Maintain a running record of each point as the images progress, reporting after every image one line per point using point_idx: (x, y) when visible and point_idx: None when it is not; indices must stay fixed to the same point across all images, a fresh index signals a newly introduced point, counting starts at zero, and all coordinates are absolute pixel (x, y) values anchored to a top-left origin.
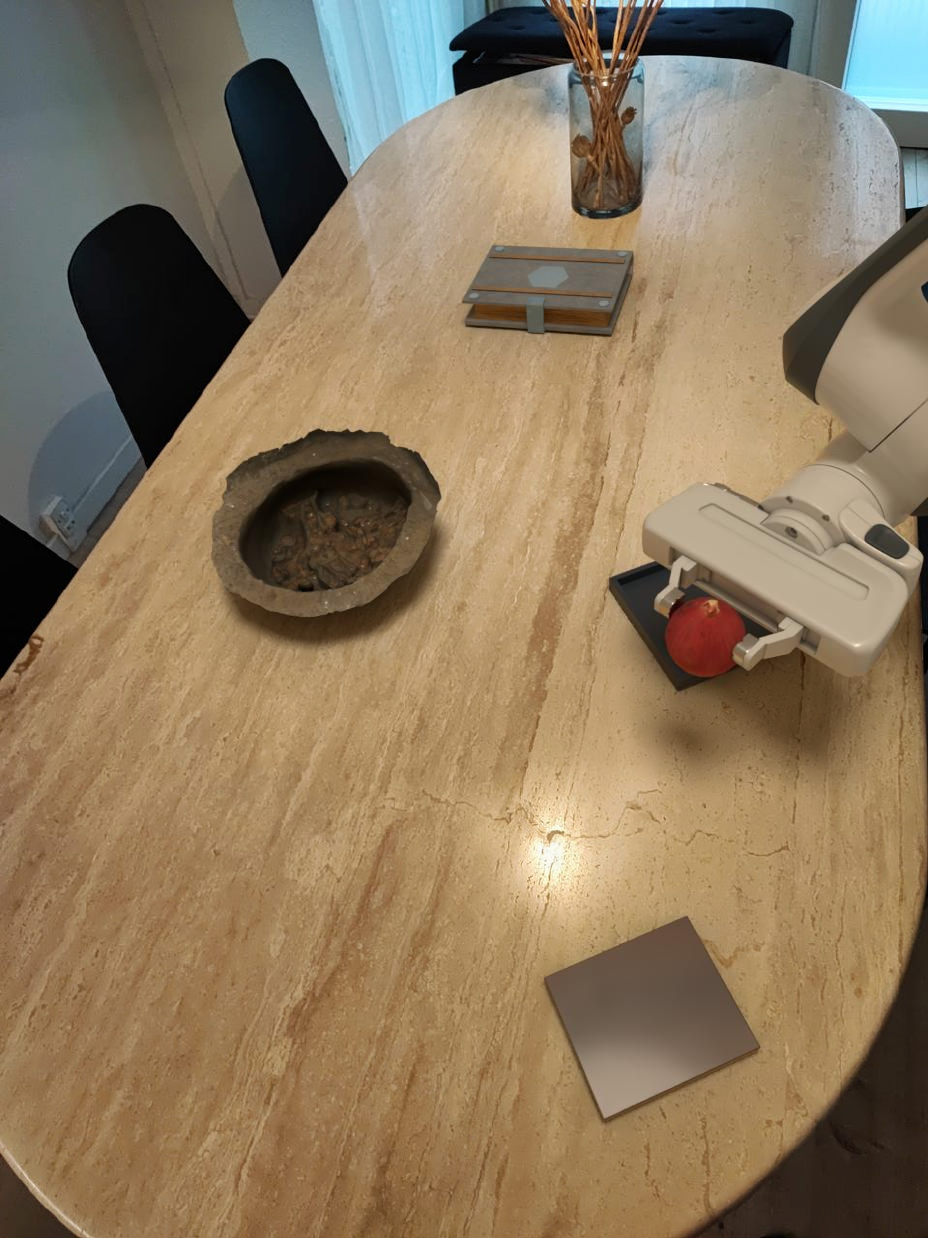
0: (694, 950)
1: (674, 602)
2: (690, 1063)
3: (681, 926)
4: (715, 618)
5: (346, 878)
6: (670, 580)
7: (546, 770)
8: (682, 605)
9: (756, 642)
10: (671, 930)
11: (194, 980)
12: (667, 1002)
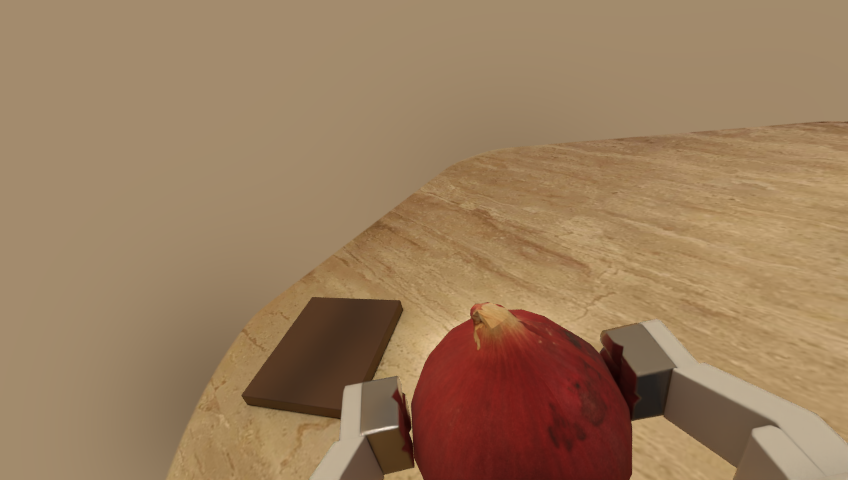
0: (324, 397)
1: (611, 336)
2: (282, 349)
3: None
4: (469, 338)
5: (555, 239)
6: (715, 370)
7: None
8: (599, 359)
9: (360, 421)
10: None
11: (531, 184)
12: (318, 357)
